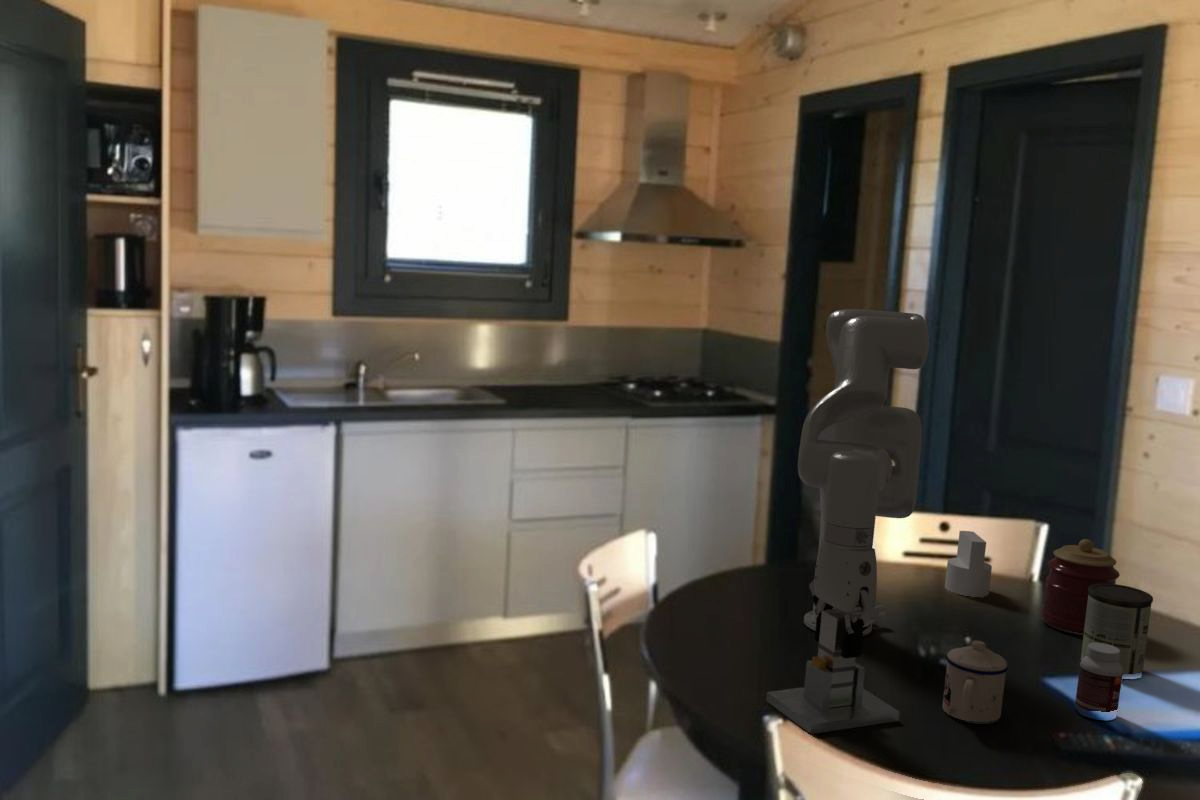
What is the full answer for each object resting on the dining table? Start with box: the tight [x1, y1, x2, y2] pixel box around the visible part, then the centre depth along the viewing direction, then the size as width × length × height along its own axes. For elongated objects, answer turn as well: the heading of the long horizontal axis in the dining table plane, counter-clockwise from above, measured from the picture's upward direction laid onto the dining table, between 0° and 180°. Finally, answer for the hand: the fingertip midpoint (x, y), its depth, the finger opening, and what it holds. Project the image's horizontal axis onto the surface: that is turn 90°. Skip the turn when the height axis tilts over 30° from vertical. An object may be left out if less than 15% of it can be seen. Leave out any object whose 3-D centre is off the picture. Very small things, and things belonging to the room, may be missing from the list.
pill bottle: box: [1074, 643, 1123, 712], centre depth 173 cm, size 6×6×11 cm
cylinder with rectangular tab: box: [944, 530, 993, 598], centre depth 235 cm, size 9×9×12 cm
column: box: [817, 609, 857, 708], centre depth 168 cm, size 4×4×14 cm
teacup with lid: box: [942, 640, 1009, 722], centre depth 169 cm, size 12×9×12 cm
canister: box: [1041, 538, 1121, 633], centre depth 215 cm, size 13×13×18 cm
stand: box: [765, 655, 900, 735], centre depth 169 cm, size 16×12×9 cm
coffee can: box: [1080, 583, 1154, 674], centre depth 193 cm, size 10×10×14 cm
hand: (837, 647), depth 168 cm, fingers open, 6 cm apart
